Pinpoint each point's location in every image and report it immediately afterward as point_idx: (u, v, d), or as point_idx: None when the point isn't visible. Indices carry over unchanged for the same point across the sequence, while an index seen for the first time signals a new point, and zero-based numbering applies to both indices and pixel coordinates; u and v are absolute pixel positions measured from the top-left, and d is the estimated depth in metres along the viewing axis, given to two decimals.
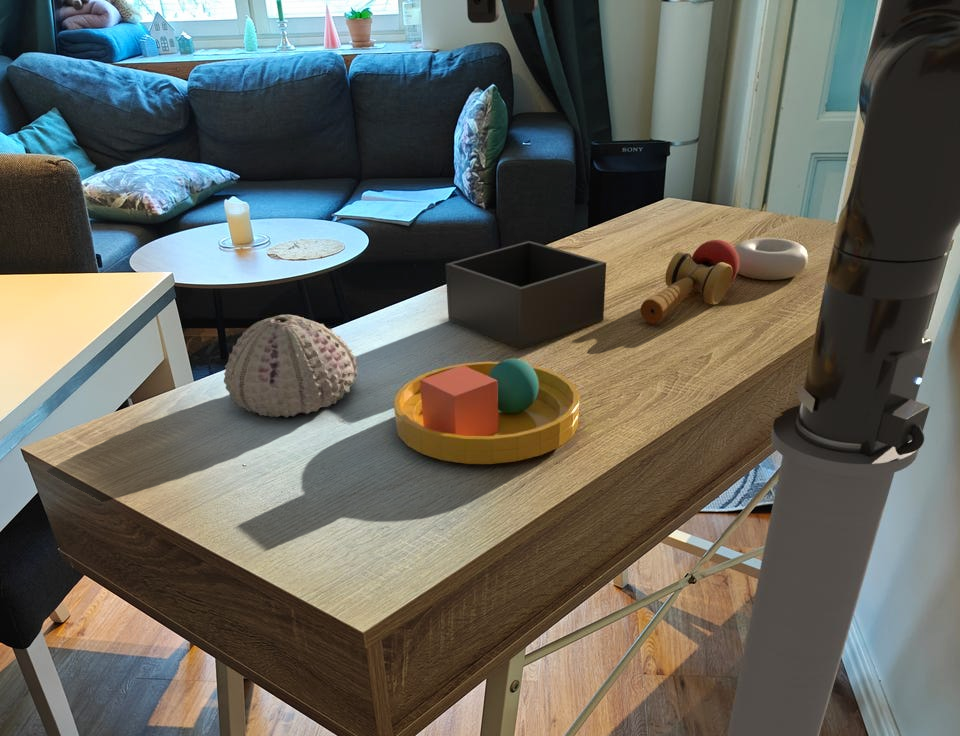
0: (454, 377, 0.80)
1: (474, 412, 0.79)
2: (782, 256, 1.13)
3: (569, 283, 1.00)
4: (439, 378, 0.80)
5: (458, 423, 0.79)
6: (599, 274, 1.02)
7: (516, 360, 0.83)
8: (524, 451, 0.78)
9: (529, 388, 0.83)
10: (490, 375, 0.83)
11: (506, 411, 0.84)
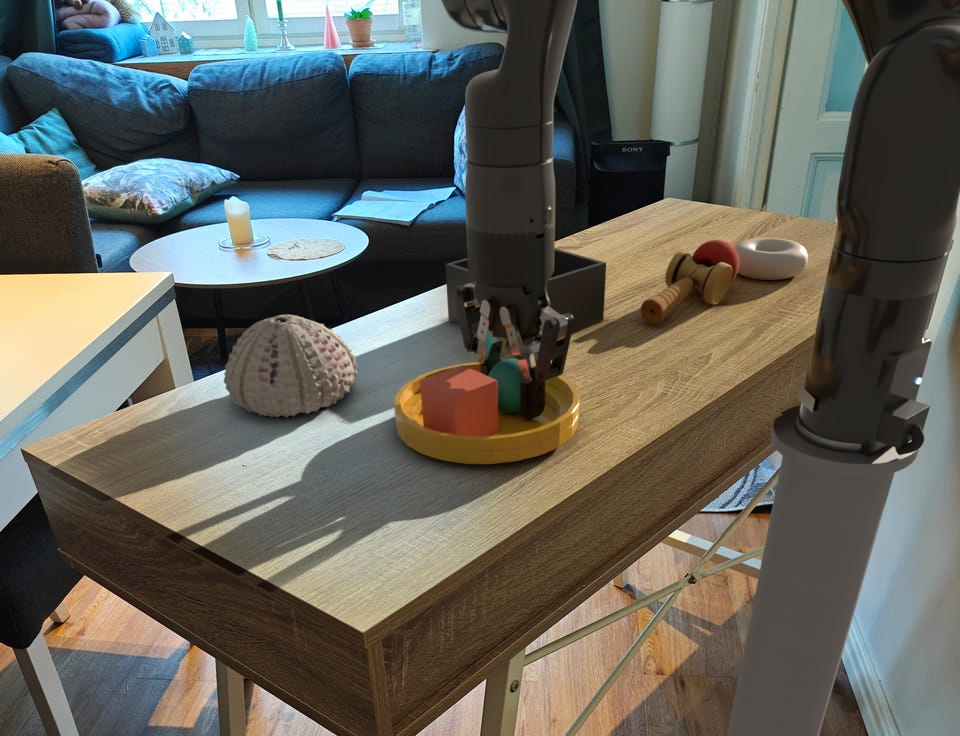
0: (454, 377, 0.80)
1: (474, 412, 0.79)
2: (782, 256, 1.13)
3: (569, 283, 1.00)
4: (439, 378, 0.80)
5: (458, 423, 0.79)
6: (599, 274, 1.02)
7: (516, 360, 0.83)
8: (524, 451, 0.78)
9: None
10: (490, 375, 0.83)
11: (506, 411, 0.84)
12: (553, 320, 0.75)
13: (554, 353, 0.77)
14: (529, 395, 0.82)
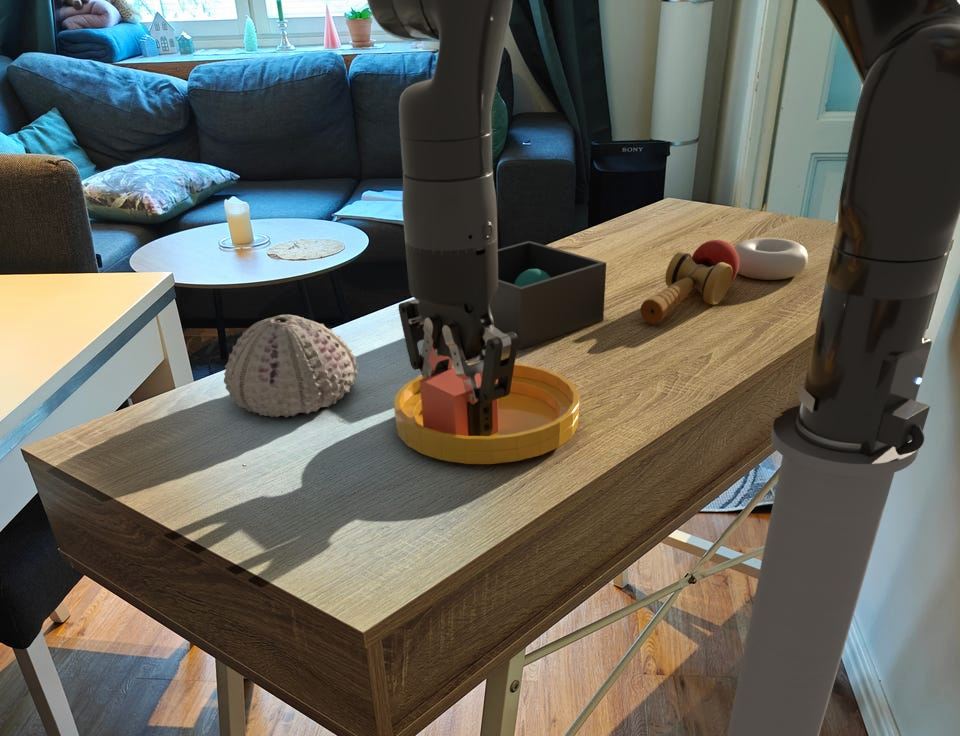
0: (454, 377, 0.80)
1: None
2: (782, 256, 1.13)
3: (569, 283, 1.00)
4: (439, 378, 0.80)
5: (458, 423, 0.79)
6: (599, 274, 1.02)
7: (536, 269, 1.04)
8: (524, 451, 0.78)
9: None
10: (516, 282, 1.05)
11: None
12: (495, 339, 0.72)
13: (498, 373, 0.74)
14: (476, 416, 0.79)
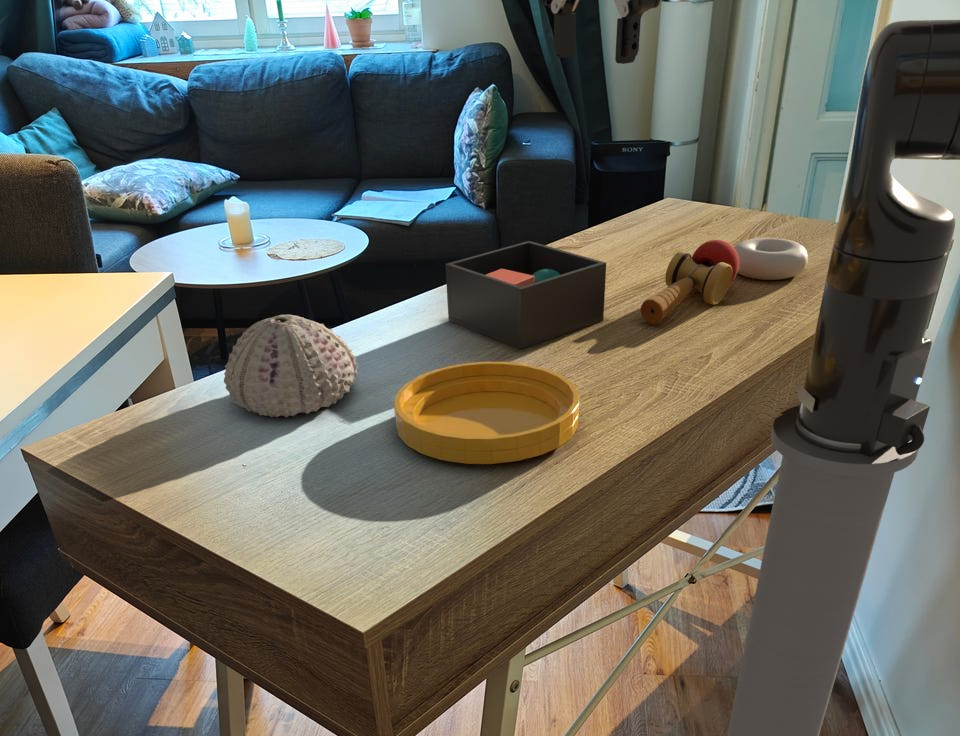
0: None
1: None
2: (782, 256, 1.13)
3: (569, 283, 1.00)
4: None
5: None
6: (599, 274, 1.02)
7: (559, 274, 1.05)
8: (524, 451, 0.78)
9: None
10: (538, 275, 1.04)
11: None
12: None
13: None
14: (625, 33, 0.86)
